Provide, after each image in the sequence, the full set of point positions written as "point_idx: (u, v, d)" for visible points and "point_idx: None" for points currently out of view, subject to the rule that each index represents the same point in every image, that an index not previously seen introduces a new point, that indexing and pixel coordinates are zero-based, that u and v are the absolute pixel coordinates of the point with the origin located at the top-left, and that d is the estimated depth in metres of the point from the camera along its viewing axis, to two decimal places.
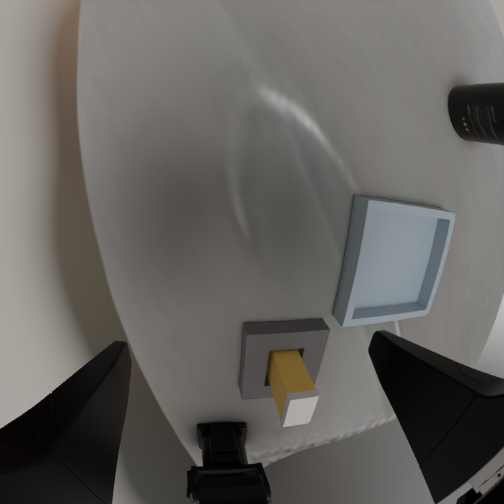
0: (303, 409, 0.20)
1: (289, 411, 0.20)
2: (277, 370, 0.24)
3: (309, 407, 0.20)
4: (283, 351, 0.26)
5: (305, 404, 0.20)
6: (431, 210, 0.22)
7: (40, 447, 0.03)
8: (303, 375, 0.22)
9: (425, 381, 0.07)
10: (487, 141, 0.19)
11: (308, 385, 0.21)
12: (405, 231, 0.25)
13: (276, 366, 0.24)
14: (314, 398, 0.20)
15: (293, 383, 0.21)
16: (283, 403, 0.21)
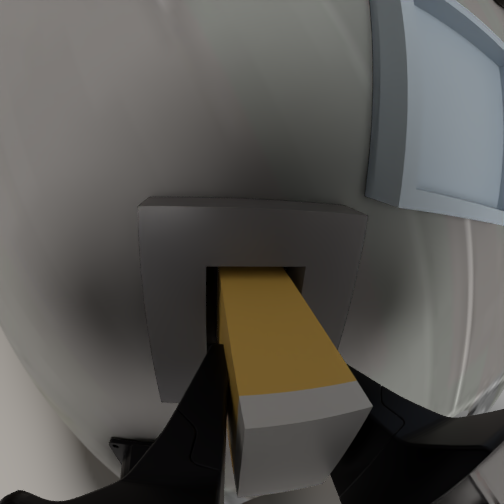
0: (304, 458, 0.05)
1: (250, 465, 0.05)
2: (224, 321, 0.08)
3: (329, 449, 0.05)
4: (248, 276, 0.10)
5: (315, 441, 0.05)
6: (492, 32, 0.07)
7: (206, 474, 0.03)
8: (305, 333, 0.07)
9: None
10: None
11: (326, 366, 0.06)
12: (465, 63, 0.09)
13: (223, 310, 0.08)
14: (354, 417, 0.04)
15: (268, 358, 0.06)
16: (234, 430, 0.06)
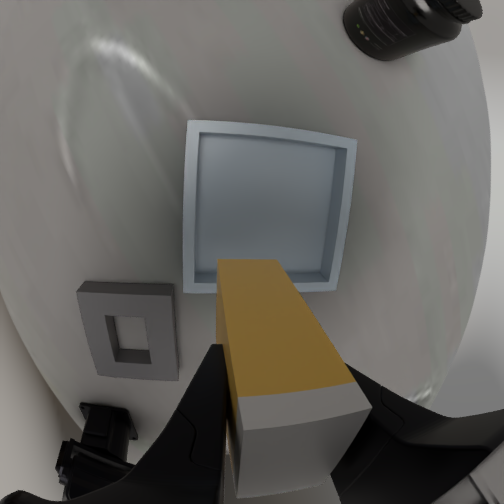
0: (304, 459, 0.05)
1: (249, 466, 0.05)
2: (223, 321, 0.08)
3: (328, 450, 0.05)
4: (247, 277, 0.10)
5: (314, 443, 0.04)
6: (305, 132, 0.17)
7: (205, 473, 0.03)
8: (305, 334, 0.07)
9: None
10: (397, 46, 0.15)
11: (325, 367, 0.06)
12: (276, 168, 0.20)
13: (222, 310, 0.08)
14: (353, 418, 0.04)
15: (267, 359, 0.06)
16: (233, 431, 0.06)
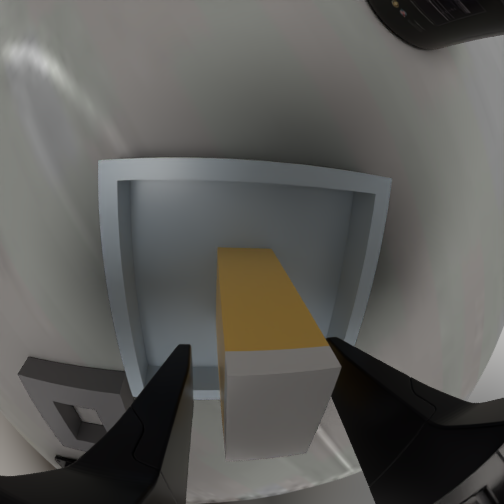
0: (284, 417, 0.06)
1: (234, 419, 0.06)
2: (219, 298, 0.09)
3: (306, 409, 0.06)
4: (242, 262, 0.11)
5: (291, 398, 0.06)
6: (305, 169, 0.10)
7: (143, 471, 0.03)
8: (288, 307, 0.08)
9: (372, 398, 0.06)
10: (451, 28, 0.07)
11: (303, 333, 0.07)
12: (256, 225, 0.13)
13: None
14: (324, 376, 0.06)
15: (253, 324, 0.07)
16: (223, 391, 0.07)
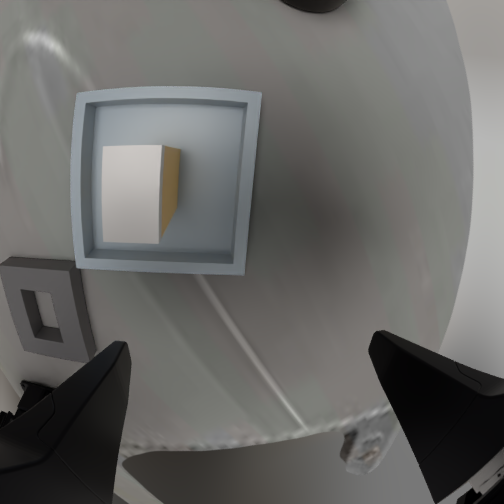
0: (133, 186, 0.10)
1: (105, 185, 0.10)
2: None
3: (146, 181, 0.10)
4: None
5: (135, 167, 0.10)
6: (193, 88, 0.14)
7: (40, 447, 0.03)
8: None
9: (425, 381, 0.07)
10: None
11: None
12: (170, 133, 0.17)
13: None
14: (152, 151, 0.10)
15: None
16: None
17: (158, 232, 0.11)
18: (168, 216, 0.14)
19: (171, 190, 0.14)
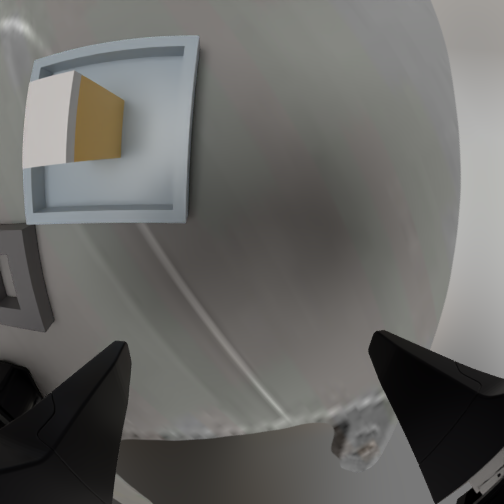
0: (48, 111, 0.08)
1: (28, 114, 0.08)
2: None
3: (59, 104, 0.08)
4: None
5: (51, 94, 0.08)
6: (133, 40, 0.12)
7: (41, 448, 0.03)
8: None
9: (425, 381, 0.07)
10: None
11: None
12: (115, 87, 0.14)
13: None
14: (66, 77, 0.08)
15: None
16: None
17: (66, 151, 0.09)
18: (94, 151, 0.12)
19: (102, 129, 0.12)
